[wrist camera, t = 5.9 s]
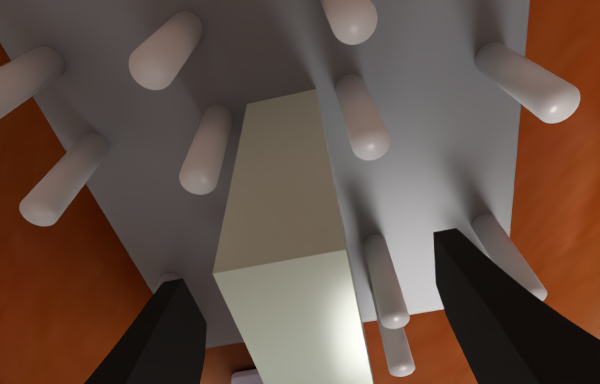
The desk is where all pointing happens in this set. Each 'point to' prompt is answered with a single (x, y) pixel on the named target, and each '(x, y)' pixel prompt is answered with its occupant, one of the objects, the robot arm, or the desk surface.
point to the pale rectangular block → (290, 251)
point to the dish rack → (275, 83)
